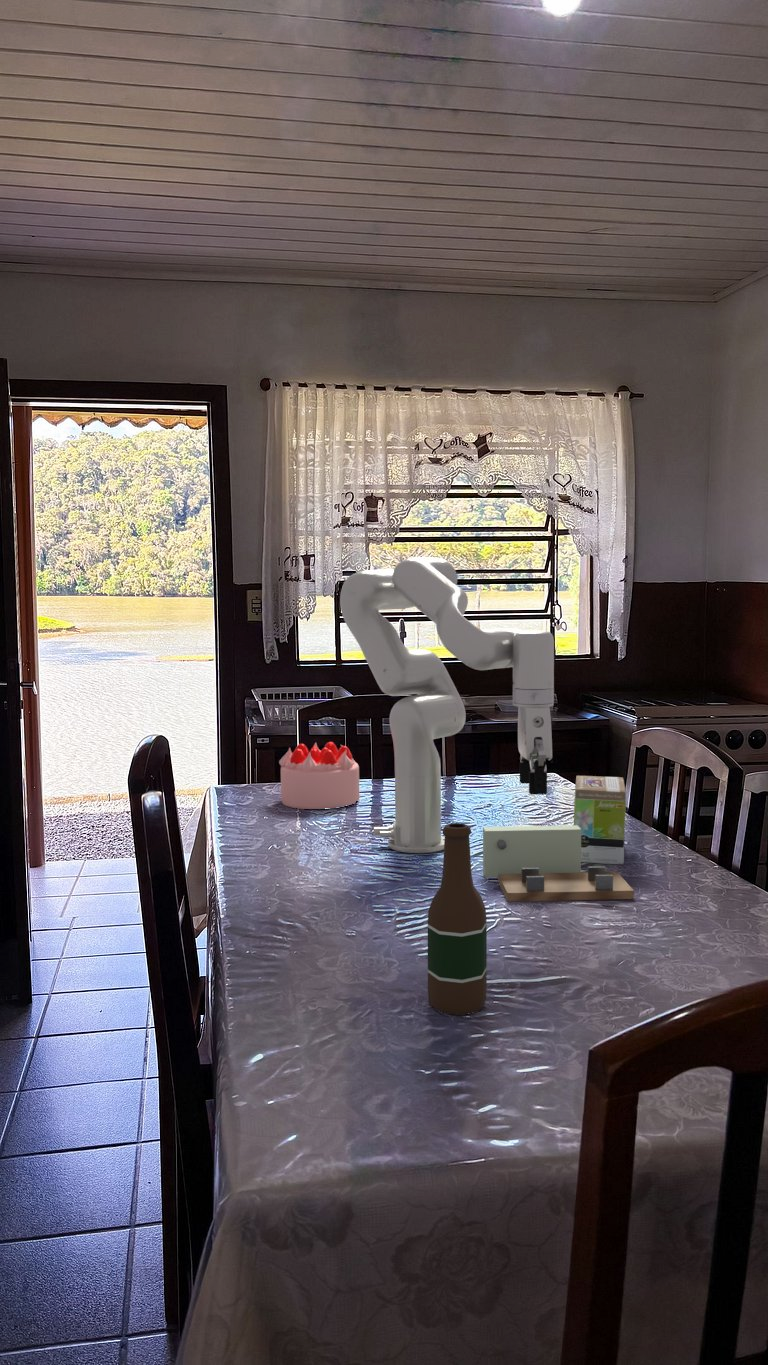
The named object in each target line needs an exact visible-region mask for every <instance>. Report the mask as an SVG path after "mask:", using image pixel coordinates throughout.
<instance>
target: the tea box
mask: <svg viewBox="0 0 768 1365" xmlns="http://www.w3.org/2000/svg"><path fill="white" fill-rule="evenodd" d="M574 785H575V786H574V788H575V789H574V798H573V800H574V801H573V803H574V804H573V805H574V806H573V825H578V826H579V827H580V828H581V863H587V864H609V865H623V864H624V862H625V834H626V831H625V829H626V807H627V806H626V805H627V803H626V802H627V791H626V785H625V780H624V777H620V776H596V775H594V776H593V775H576V777H575V784H574Z"/></svg>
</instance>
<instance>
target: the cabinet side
mask: <svg viewBox="0 0 768 1365" xmlns="http://www.w3.org/2000/svg"><path fill="white" fill-rule="evenodd" d="M606 875H613V890H595V881H588V871H587V872H582V871H581V873H539V876H544V891H530V892H527V891H526V883H522V882H521V874H498V877H497V879H498V880H497V882H498V884H499V887H500V889H501V890H502V894H503V895H504V897H505V900H506V901H507V902H547V901H548V902H551V901H552V902H553V901H556V902H558V901H596V900H597V901H598V900H600V901H601V900H603V901H604V900H634V897H635V896H634V895H635V890H634V889H633V888H632V887H631V886H630V885H629V883H628V882H627V881H626V880H625V879H624V878H623V877H622V876H621V875H620V873H618V871H606Z"/></svg>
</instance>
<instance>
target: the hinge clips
mask: <svg viewBox="0 0 768 1365" xmlns="http://www.w3.org/2000/svg"><path fill="white" fill-rule="evenodd" d="M606 869H607V867H606V866H605V865H604V866H601V865H598V866H595V865H593V866H592V865H591V866H587V872H588V881H595V890H613V875H606V872H607V870H606ZM521 882H522V883H526V891H527V892H530V891H544V876H539V868H538V867H535V868H521Z"/></svg>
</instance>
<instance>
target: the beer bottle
mask: <svg viewBox="0 0 768 1365" xmlns="http://www.w3.org/2000/svg"><path fill="white" fill-rule="evenodd" d="M472 833H473V832H472V829H471V826H470V825H467V824H465V823H462V822H453V823H448V824H447V823H446V824H445V826H443V830H442V832H441V835H442V836H444V837H445V842H444V849H443V861H442V862H443V863H442V876H441V883H440V887H439V888H438V890H437V891H436V893H435V895H434V896H433V897H432V900H431V902H430V904H429V905H430V906H429V909H428V912H427V914H428V915H427V997H428V1004H429V1005H430V1006H431V1007H432V1006H433V1007H434V1009H435V1010H436V1009H437V1010H438V1011H437V1010H436V1011H437V1012H439V1011H440V1012H442V1013H441V1014H444V1013H449V1014H448V1015H452V1014H457V1015H456V1016H459V1015H463V1016H465V1015H464V1014H467V1015H469V1014H468V1013H471V1014H473V1013H472V1012H475V1013H478V1012H477V1011H479V1012H481V1010H482V1007H483V1006H484V1004H485V1002H486V1000H487V986H488V985H487V981H488V980H487V977H488V976H487V975H488V974H487V963H488V962H487V958H488V956H487V954H488V953H487V951H488V950H487V948H488V946H487V944H488V942H487V939H488V938H487V935H488V934H487V933H488V931H487V929H488V926H487V924H488V922H487V912H486V910H487V909H486V906H485V903H484V900H483V898H482V897H483V896H482V895H481V894H480V893H479V891H478V890H477V889H476V887H475V885H474V881H473V880H474V878H473V874H472V863H471V862H472V861H471V847H470V846H471V845H470V835H471V834H472ZM433 1007H432V1008H433ZM440 1012H439V1013H440Z"/></svg>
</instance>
